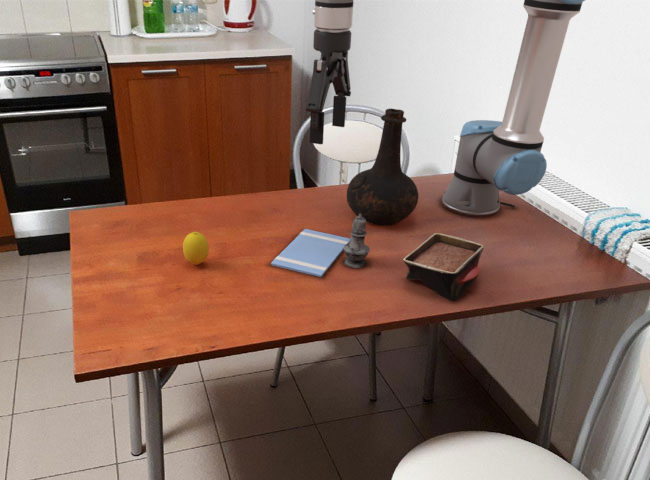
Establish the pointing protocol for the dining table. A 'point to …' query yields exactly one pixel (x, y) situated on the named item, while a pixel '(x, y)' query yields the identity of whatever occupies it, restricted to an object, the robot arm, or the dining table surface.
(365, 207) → the glass bottle
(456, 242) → the baking dish
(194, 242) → the lemon
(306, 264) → the cloth
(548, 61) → the robot arm
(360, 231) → the salt shaker
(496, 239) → the dining table surface
